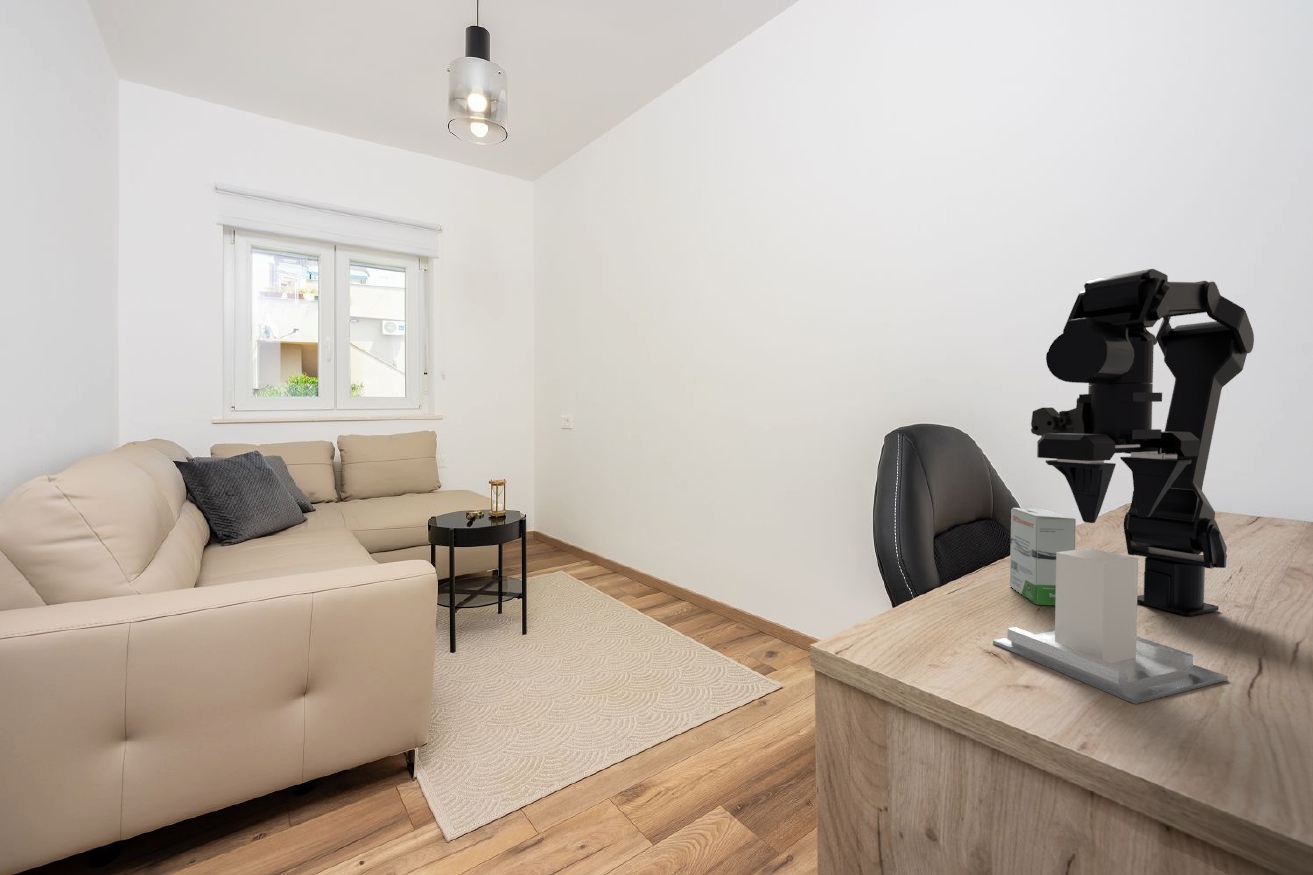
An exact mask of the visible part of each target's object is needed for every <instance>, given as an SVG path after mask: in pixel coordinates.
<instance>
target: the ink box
mask: <svg viewBox="0 0 1313 875" xmlns="http://www.w3.org/2000/svg"><path fill="white" fill-rule="evenodd" d="M1010 514H1011V515H1010V516H1011V517H1010V551H1009V552H1010V553H1009V554H1010V556H1009V557H1010V559H1009V561H1010V562H1009V587H1010V586H1011V587H1012V588H1013V590H1014V591H1015V590H1016V592H1017V593H1018V592H1019V593H1018V594H1020V595H1021V594H1022V596H1023V597H1024V598H1026V599H1027V598H1028V599H1027V600H1029V601H1030V602H1032V603H1034V604H1035V605H1038V606H1055V601H1056V552H1063V551H1070V550H1076V522H1077V521H1076V520H1077V519H1076V518H1075V517H1071V516H1067V515H1065V514H1061V513H1058V512H1056V511H1052V510H1050V509H1046V508H1044V509H1043V508H1042V509H1041V508H1031V507H1030V508H1028V507H1012V508H1011V510H1010ZM1011 587H1010V588H1011ZM1012 588H1011V589H1012Z"/></svg>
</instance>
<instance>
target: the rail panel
mask: <svg viewBox="0 0 1313 875" xmlns="http://www.w3.org/2000/svg"><path fill="white" fill-rule="evenodd" d="M1006 631H1007V637H1003V638H997V639H993V640H992V644H993V645H995V646H997V647H1000V648H1002V649H1004V650H1006V651H1010V652H1012V653H1013V654H1016V655H1018V656H1021V657H1023V658H1025V659H1028V660H1030V661H1033V662H1035V663H1038V664H1040V665H1042V666H1044V667H1047V668H1049V669H1051V670H1053V671H1056V672H1059V673H1061V674H1064V675H1065V676H1068V677H1070V678H1073V679H1075V680H1077V681H1079V682H1082V683H1085V684H1087V685H1090V686H1091V687H1093V688H1096V689H1098V690H1101V691H1103V692H1105V693H1108V694H1111V695H1113V696H1114V697H1117V698H1119V699H1122V700H1124V701H1127V702H1130V703H1132V704H1134V705H1137V704H1140V703H1145V702H1149V701H1153V700H1156V699H1160V698H1164V697H1168V696H1173V695H1176V694H1181V693H1183V692H1188V691H1192V690H1195V689H1199V688H1203V687H1207V686H1211V685H1215V684H1218V683H1223V682H1227V681H1228V680H1229V679H1228V675H1225V674H1223V673H1222V674H1221V673H1219V672H1217V671H1213V670H1211V669H1208V668H1204V667H1202V666H1199V665H1195V664H1194V654H1193V653H1189V652H1186V651H1182V650H1179V649H1177V648H1173V647H1170V646H1168V645H1164V644H1161V643H1159V642H1155V641H1152V640H1150V639H1145V638H1143V637H1139V636H1137V635H1136V658H1131V659H1127V660H1123V661H1119V662H1115V663H1110V662H1107V661H1104V660H1102V659H1099V658H1096V657H1094V656H1091V655H1088V654H1086V653H1083V652H1080V651H1078V650H1075V649H1073V648H1070V647H1067V646H1065V645H1062V644H1059V643H1057V642H1055V628H1052V629H1046V630H1042V631H1036V632H1030V631H1027V630H1024V629H1022V628H1019V627H1016V626H1013V627H1009V628H1007V630H1006Z"/></svg>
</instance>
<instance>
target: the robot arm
mask: <svg viewBox="0 0 1313 875" xmlns="http://www.w3.org/2000/svg"><path fill="white" fill-rule="evenodd" d="M1168 276H1169V275H1167V274H1166V273H1164V272H1162V271H1160V270H1157V269H1155V268H1148V269H1142V270H1139V271H1133V272H1128V273H1121V274H1116V275H1111V276H1105V277H1100V278H1094V279H1090V280H1088V281H1087V282H1085V283H1084V285H1083V287H1084V290H1081V291H1080V292H1079V293H1078V295H1077V297H1076V299H1075V302H1074V304H1073V306H1072V308H1071V311H1070V314H1069V316H1068V318H1067V320H1066V323H1065V325H1064V327H1063V331H1062V334H1061V333H1060V334H1059V335H1058V336H1057V337H1056V338H1055V339H1054V340H1053V342H1052V343H1051V345H1050V346H1049V348H1048V351H1046V355H1045V360H1046V366H1047V368H1048V370H1049V372H1050V373H1051V375H1052V376H1054V377H1055V378H1057V379H1058V380H1060V381H1063V382H1067V383H1073V384H1074V383H1076V384H1088V389H1087V390H1088V393H1082V394H1081V393H1080V394H1078V396H1079V397H1077V398H1076V406H1075V408H1073V409H1069V410H1061V411H1057V410H1056V409H1055V408H1054V407H1040V408H1037V409H1035V410H1033V411H1032V415H1031V421H1030V422H1031V423H1030V427H1031V429H1030V431H1031V432H1030V433H1031V434H1033V435H1035V436H1038V437H1040V436H1041V437H1040V438H1039V439H1038V440H1037V443H1036V444H1037V446H1036V451H1037V452H1036V458H1039V459H1046V460H1045V463H1046V464H1047V465H1048V466H1052V467H1054V468H1055V469H1057V471H1058V472H1060V473H1061V474H1062V475H1063V477H1065V480H1066V482H1067V484H1068V485H1069V488H1070V490H1071V493H1072V496H1073V499H1074V501H1075V504H1076V505H1077V509H1078V512H1079V514H1080V517H1081V519H1082V522H1084V523H1088V524H1095V523H1096V522H1097V519H1098V517H1099V515H1100V513H1101V509H1102V507H1103V503H1104V500H1105V498H1106V494H1107V492H1108V488H1109V485H1110V483H1111V480H1112V477H1113V474H1114V471H1115V468H1116V465H1117V463H1112V462H1105V461H1111V459H1112V458H1113V456H1114V455H1115V454H1121V453H1122V454H1129V456H1120V457H1119V458H1120V460H1121V461H1122V462H1123V463H1124V464H1125V465H1126V466H1127V468H1129V470H1130V471H1131V473H1132V474H1131V475H1132V485H1133V491H1132V497H1131V503H1130V507H1129V509H1128V510H1127V511H1126V513H1125V515H1124V519H1123V530H1124V531H1123V532H1124V537H1125V544H1126V549H1127V556H1139V557H1145V558H1144V571H1143V594H1141V595H1140V594H1139V595H1137V604H1142V605H1145V606H1149V607H1153V608H1156V609H1160V610H1163V611H1168V612H1170V613H1171V612H1172V613H1175V614H1179V615H1182V616H1188V617H1189V616H1195V615H1196V616H1197V615H1200V614H1206V613H1211V612H1216V611H1219V606H1218V605H1216V604H1211V603H1207V602H1205V579H1206V578H1205V576H1206V571H1205V570H1206V569H1214V568H1216V569H1226V568H1227V557H1228V554H1227V550H1228V549H1227V545H1226V543H1225V540H1224V538H1223V535H1222V532H1221V530H1220V527H1219V525H1218V523H1217V521H1216V520H1215V517H1216V512H1215V510H1214V508H1213V506H1212V505H1211V503H1210V501H1209V500H1208V498H1207V496H1206V495H1205V493H1204V492H1203V484H1204V480H1205V475H1206V471H1207V466H1208V460H1209V455H1210V450H1211V444H1212V441H1213V435H1214V429H1215V424H1216V420H1217V414H1218V410H1219V403H1220V399H1221V394H1222V389H1223V387H1225V386H1226V385H1227V384H1228V383H1230V381H1232V380H1233V379H1234V378H1235V377H1237V376H1238V375H1239V374H1241V372H1242V371H1243V370H1244V366H1245V362H1246V360H1247V355H1248V354H1250V353H1252V351H1253V349H1254V344H1255V336H1254V329H1253V328H1252V324H1251V322H1250V319H1249V316H1248V313H1247V312H1246V310H1245V308H1244V307H1242V306H1240V305H1238V304H1237V303H1235V302H1233V301H1231V300H1230V299H1228V298H1226V297H1225V296H1222V295H1221V293H1220V291H1219V287H1218V285H1217V284H1216V282H1215V281H1207V280H1201V281H1195V282H1192V281H1191V282H1190V281H1168V280H1169V279H1168ZM1205 313H1206V314H1207V316H1208V317H1209V318H1210V319H1212V320H1214V321H1208V322H1198V323H1197V322H1196V323H1191V324H1190V323H1188V324H1180V325H1176V326H1175V327H1174V328H1173V327H1172V325H1171V324H1170V320H1171V318H1172V317H1181V316H1187V315H1189V316H1190V315H1196V314H1205ZM1161 319H1162V321H1161V323H1160V326H1159V328H1158V331H1157V332H1156V333H1157V334H1156V335H1155V334H1153V333H1151V332H1150V331H1149V330H1148V328H1153V327H1154V326H1155V324H1156V323H1157V322H1158V321H1160V320H1161ZM1157 344H1158V347H1159V348H1160V350H1161V352H1162V354H1163V361H1164V363H1165V365H1166V366H1167V368H1168V370H1169V371H1170V372H1171V374H1172V376H1173V377H1174V385H1173V390H1172V394H1171V400H1170V404H1169V408H1168V414H1167V417H1166V423H1165V427H1164V431H1162V429H1160V428H1157V429H1156V428H1152V427H1153V426H1152V425H1153V423H1152V422H1153V403H1160V402H1162V403H1163V392H1154V391H1153V387H1154V386H1153V384H1154V382H1153V381H1154V375H1153V374H1154V348H1155V347H1154V346H1156V345H1157Z"/></svg>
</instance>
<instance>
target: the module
mask: <svg viewBox="0 0 1313 875" xmlns="http://www.w3.org/2000/svg"><path fill="white" fill-rule="evenodd" d="M1138 577H1139V557H1134V556H1132V555H1125V554H1120V553H1114V552H1111V551H1110V552H1109V551H1105V550H1101V549H1100V550H1099V549H1094V548H1092V547H1086V548H1079V549H1075V550H1070V551H1063V552H1056V601H1055V605H1054V606H1055V607H1054V608H1055V609H1054V611H1055V612H1054V616H1055V617H1054V629H1055V642H1057V643H1059V644H1062V645H1065V646H1067V647H1070V648H1073V649H1075V650H1078V651H1080V652H1083V653H1086V654H1088V655H1091V656H1094V657H1096V658H1099V659H1102V660H1104V661H1107V662H1110V663H1115V662H1119V661H1123V660H1127V659H1131V658H1136V636H1137V630H1138V628H1137V625H1138V622H1137V620H1138V602H1137V596H1138V588H1139V587H1138V580H1139V579H1138Z"/></svg>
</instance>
